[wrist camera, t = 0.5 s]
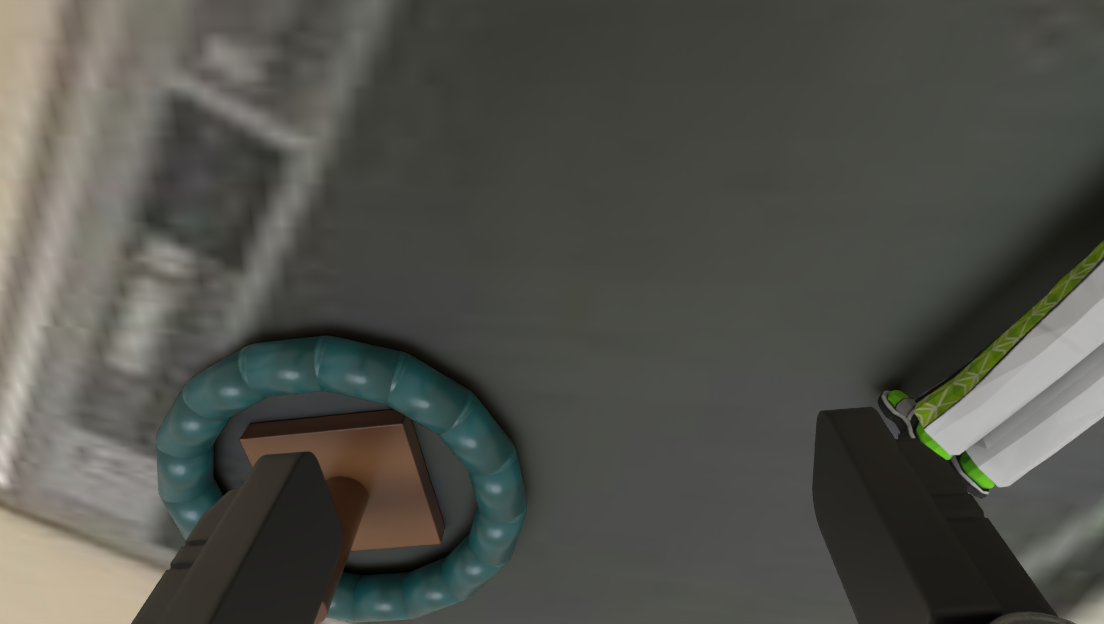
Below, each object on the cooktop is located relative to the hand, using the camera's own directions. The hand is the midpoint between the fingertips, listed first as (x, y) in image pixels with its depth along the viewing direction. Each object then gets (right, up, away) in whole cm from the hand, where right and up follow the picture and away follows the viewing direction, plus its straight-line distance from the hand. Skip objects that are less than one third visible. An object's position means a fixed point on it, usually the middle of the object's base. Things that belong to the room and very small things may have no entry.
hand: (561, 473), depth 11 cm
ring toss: (-10, -6, +24) cm, 27 cm away
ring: (-10, -6, +23) cm, 26 cm away
